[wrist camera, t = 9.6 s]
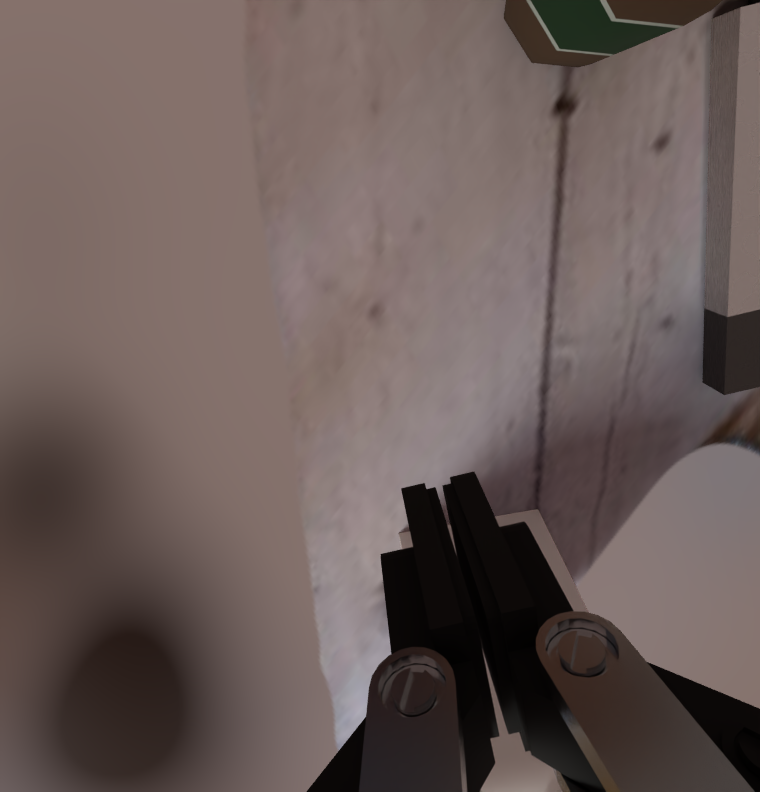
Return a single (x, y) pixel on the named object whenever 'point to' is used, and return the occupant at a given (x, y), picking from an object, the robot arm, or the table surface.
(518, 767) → the milk
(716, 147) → the tongs arm
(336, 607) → the table surface
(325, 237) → the table surface
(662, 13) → the beer bottle
